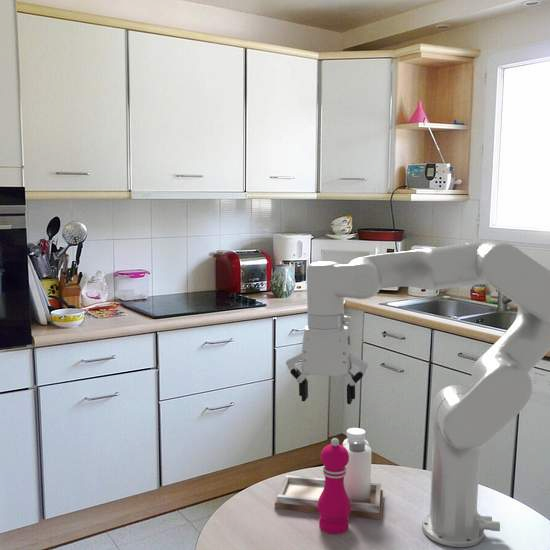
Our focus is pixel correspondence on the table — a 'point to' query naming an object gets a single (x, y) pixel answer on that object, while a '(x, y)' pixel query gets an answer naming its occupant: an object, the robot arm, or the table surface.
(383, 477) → the table surface
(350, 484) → the salt shaker
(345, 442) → the supplement bottle
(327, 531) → the pepper mill
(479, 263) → the robot arm
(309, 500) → the rail
